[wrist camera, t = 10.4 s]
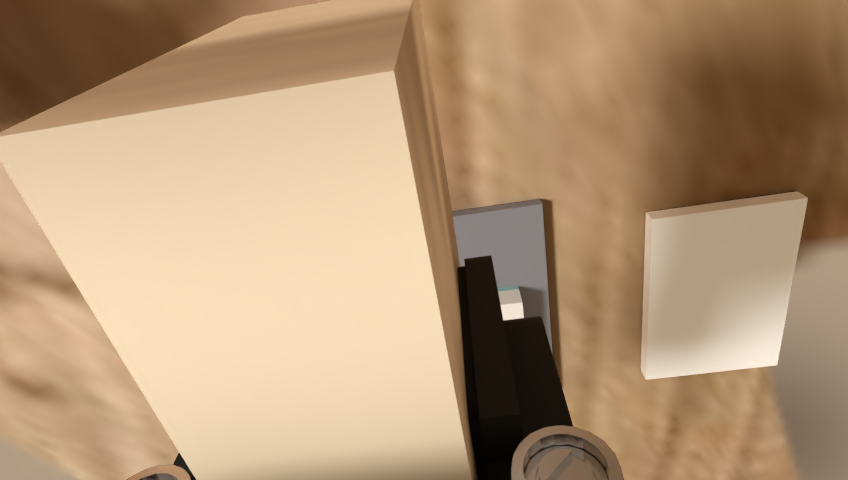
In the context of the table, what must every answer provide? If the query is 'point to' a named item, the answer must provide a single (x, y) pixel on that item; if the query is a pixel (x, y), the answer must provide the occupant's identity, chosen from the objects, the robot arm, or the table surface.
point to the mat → (510, 250)
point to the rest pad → (718, 284)
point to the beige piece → (270, 243)
